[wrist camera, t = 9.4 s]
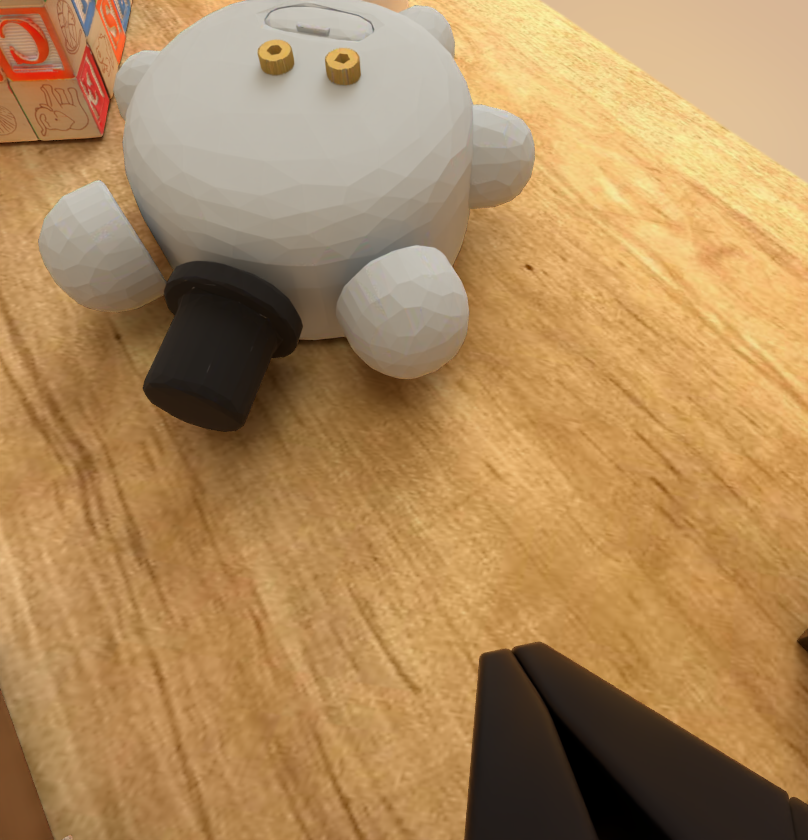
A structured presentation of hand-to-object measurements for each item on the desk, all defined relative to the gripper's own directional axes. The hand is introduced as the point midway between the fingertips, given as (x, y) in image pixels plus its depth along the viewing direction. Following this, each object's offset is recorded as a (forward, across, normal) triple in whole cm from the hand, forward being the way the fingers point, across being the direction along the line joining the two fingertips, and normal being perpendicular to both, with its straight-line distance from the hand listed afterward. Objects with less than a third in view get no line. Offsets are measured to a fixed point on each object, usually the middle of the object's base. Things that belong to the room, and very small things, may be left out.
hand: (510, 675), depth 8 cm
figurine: (+22, +2, -6) cm, 22 cm away
